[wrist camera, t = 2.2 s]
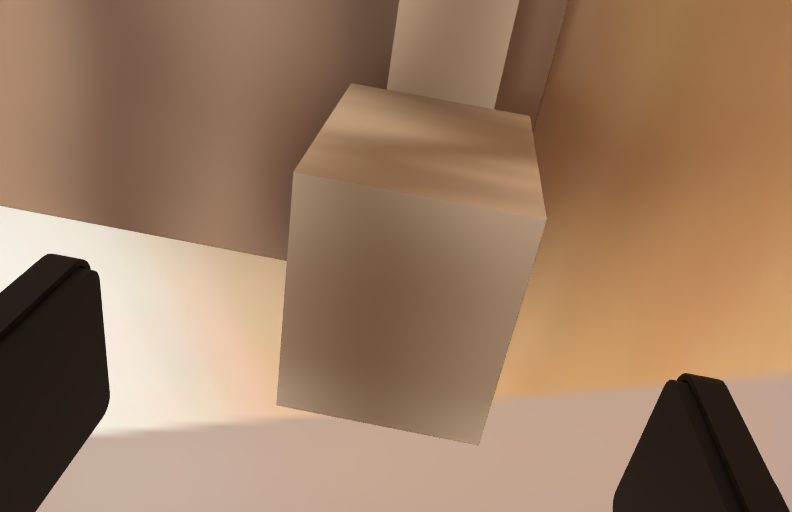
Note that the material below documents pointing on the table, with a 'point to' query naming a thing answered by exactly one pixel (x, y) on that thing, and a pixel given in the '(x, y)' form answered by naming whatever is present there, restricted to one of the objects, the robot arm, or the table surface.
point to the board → (200, 105)
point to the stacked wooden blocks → (414, 233)
